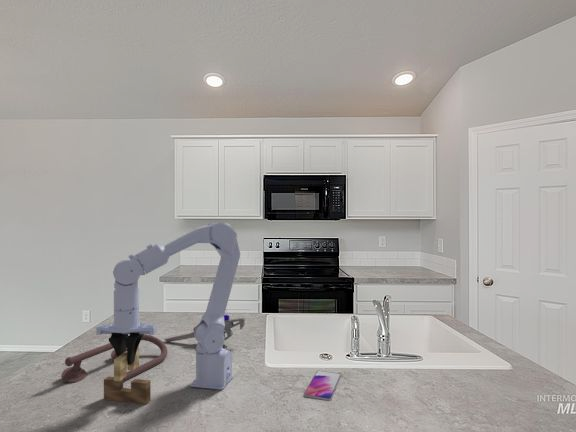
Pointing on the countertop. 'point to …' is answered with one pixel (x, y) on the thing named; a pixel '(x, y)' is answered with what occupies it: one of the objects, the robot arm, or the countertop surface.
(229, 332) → the toy gun
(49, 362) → the countertop surface
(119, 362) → the light wooden block
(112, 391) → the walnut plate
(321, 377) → the smartphone
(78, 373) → the toilet paper hanger
